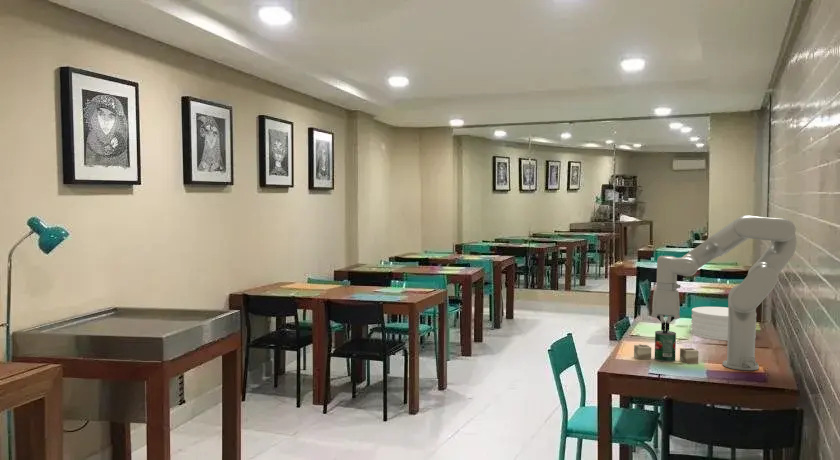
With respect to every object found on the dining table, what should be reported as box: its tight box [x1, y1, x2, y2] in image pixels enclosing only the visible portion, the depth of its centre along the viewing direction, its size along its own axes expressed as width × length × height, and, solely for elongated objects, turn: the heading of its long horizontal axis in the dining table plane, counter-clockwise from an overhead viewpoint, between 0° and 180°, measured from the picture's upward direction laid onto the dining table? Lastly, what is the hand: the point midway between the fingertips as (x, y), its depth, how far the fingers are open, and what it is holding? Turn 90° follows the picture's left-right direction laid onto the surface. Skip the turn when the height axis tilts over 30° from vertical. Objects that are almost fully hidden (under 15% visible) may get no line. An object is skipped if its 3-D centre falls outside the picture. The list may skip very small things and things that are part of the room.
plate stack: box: [690, 306, 757, 342], centre depth 313 cm, size 28×28×12 cm
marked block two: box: [633, 344, 652, 361], centre depth 264 cm, size 5×5×5 cm
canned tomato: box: [654, 330, 677, 363], centre depth 262 cm, size 8×8×11 cm
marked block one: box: [679, 347, 700, 364], centre depth 259 cm, size 5×5×5 cm
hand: (665, 332), depth 262 cm, fingers closed
